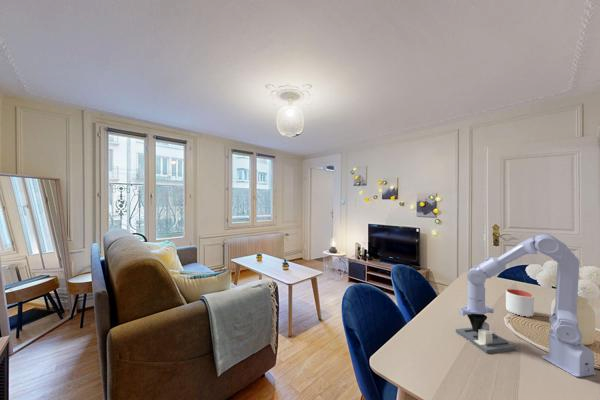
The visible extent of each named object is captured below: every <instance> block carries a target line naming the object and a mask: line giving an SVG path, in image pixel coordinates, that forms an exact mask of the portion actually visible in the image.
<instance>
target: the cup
mask: <svg viewBox="0 0 600 400" xmlns="http://www.w3.org/2000/svg"><path fill="white" fill-rule="evenodd" d="M534 307H535V297H534V294H532V293H530V292H528V291H525V290H520V289H515V288H509V289H505V308H506V310H507V312H509V313H511V314H513V313H514V315H515V314H517V315H516V316H518V315H520V317H523V316H526V317H525V318H530V316H531V317H533V316H534V315H535V314H534V313H535V312H534V311H535V310H534V309H535V308H534Z"/></svg>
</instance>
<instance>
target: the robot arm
mask: <svg viewBox="0 0 600 400" xmlns="http://www.w3.org/2000/svg"><path fill="white" fill-rule="evenodd" d="M538 252H539V253H541V254H543V255H545V256H548V257H550V258H551V259H552V260H553V261H555V262H556V263H557V264H556V265H557V266H556V267H557V268H556V283H555V302H554V303H555V304H554V307H553V313H552V314H551V315H550V316H549V319H548V322H549V324H550V326H551V328H552V329H551V330H549V331H548V354H545V355H541V358H542V359H544V360H546V361H547V362H549V363H550V364H553V365H554V366H556V367H558V368H560V369H561V370H563V371H565V372H566V373H568V374H570V375H572V376H574V377H576V378H582V377H588V376H595V375H597V373H596V372H595V354H594V352H593V350H591V349H590V348H588V347H587V346H586V345H584V344H583V343H582V339H583V334H582V331H581V330H580V328H579V319H578V314H577V312H578V310H577V309H578V297H579V296H578V295H579V279H580V278H579V277H580V260H579V259H578V257H577V256H576V255H575V254H574V253H573V251H572V250H571V249H570V248H569V247H568V246H567V244H565V243H564V242H562V241H561V240H560V239H558V238H556V237H555V236H554V235H551V234H550V233H549V234H548V233H538V234H536V235H534V236H533V237H529V238H527V239H525V240H523V241H522V242H520V243H519V244H517V245H515V246H513V247H512V248H511V249H509V250H508V251H506V252H505V253H503V254H502V255H500V256H498V257H495V256H494V257H493V256H490V258H489V257H486V258H484V261H483V262H481V263H479V264H475V265H474V266H473V267H471V268H470V269H469V270H468V272H467V274H466V276H467V277H466V278H467V280H468V281H467V304H465V307H462V308H458V315H460V316H462V317H465V316H467V318H468V320H469V321H470V324H471V328H472V329H473V330H474V331H475V332H477V333H478V330H479V329H481V327H482V325H483V323H484V322H486V321H487V319H488V316H487V315H486V314H489V313H490V314H494V308H493V307H491V306H486V287H485V282H486V280H487V279H491V278H493V277H495V276H496V275H498V274H500V273H502V272H504V271H505V269H506V265H508V264H510V263H511V262H513V261H516V260H518V259H520V258H522V257H523V256H525V255H539V254H538Z"/></svg>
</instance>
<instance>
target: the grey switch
mask: <svg viewBox="0 0 600 400" xmlns="http://www.w3.org/2000/svg"><path fill="white" fill-rule="evenodd" d="M481 329H486V330H488V331H489V330H490V324H489V323H488V322H487V321H484V323H483V325H482V327H481Z"/></svg>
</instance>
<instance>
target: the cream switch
mask: <svg viewBox="0 0 600 400" xmlns="http://www.w3.org/2000/svg"><path fill="white" fill-rule="evenodd" d="M490 331H491V330H490ZM490 331H488V330H486V329H479V330H478V340H479V341H481V342H482V343H484V344H492V333H491V332H490Z"/></svg>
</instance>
